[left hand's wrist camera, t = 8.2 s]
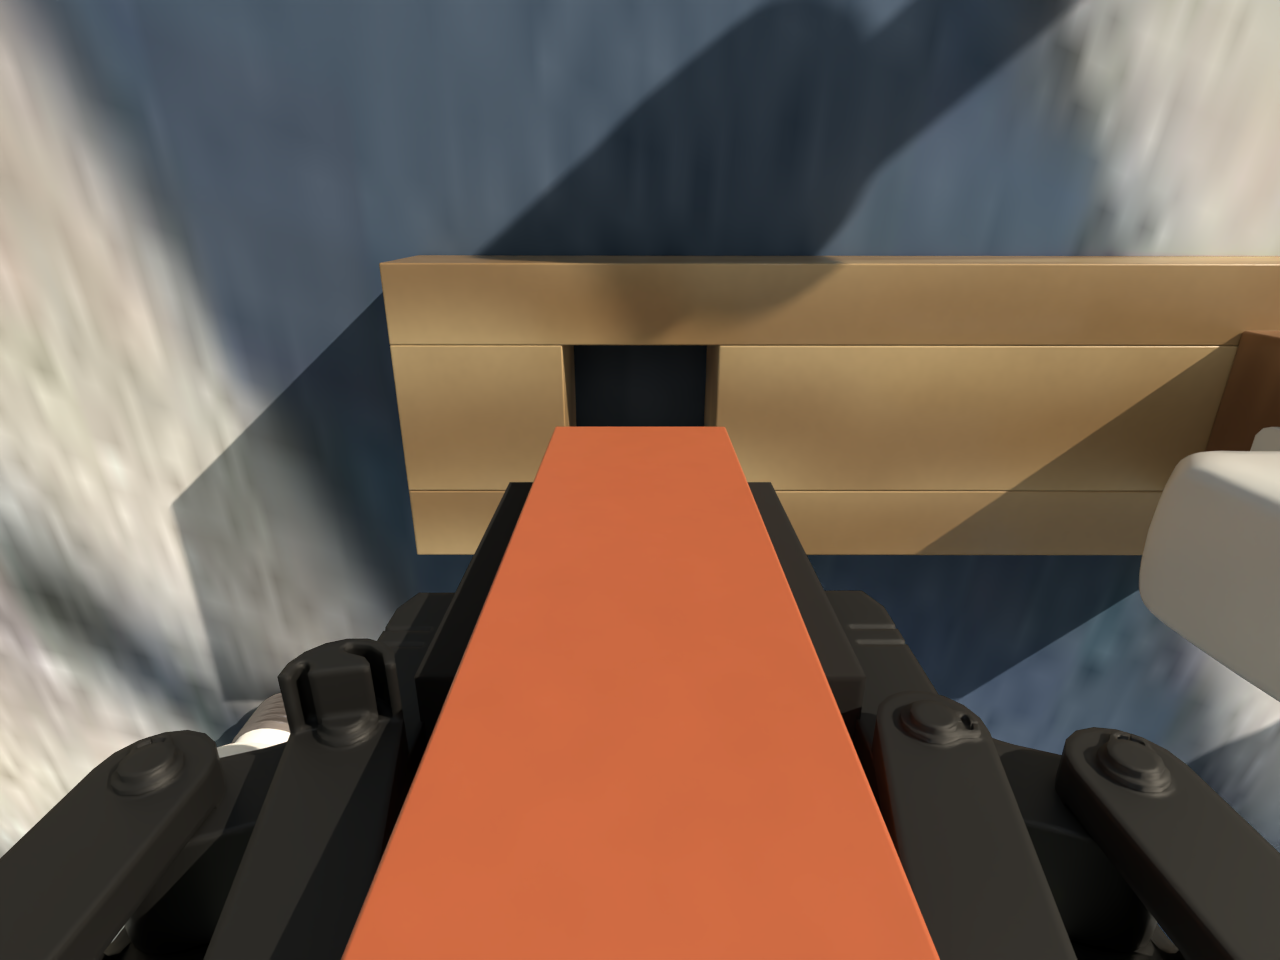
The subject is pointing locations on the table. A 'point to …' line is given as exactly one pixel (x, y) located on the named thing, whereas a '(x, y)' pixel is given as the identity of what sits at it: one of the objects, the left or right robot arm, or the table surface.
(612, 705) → the peg
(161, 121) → the table surface
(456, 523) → the board
